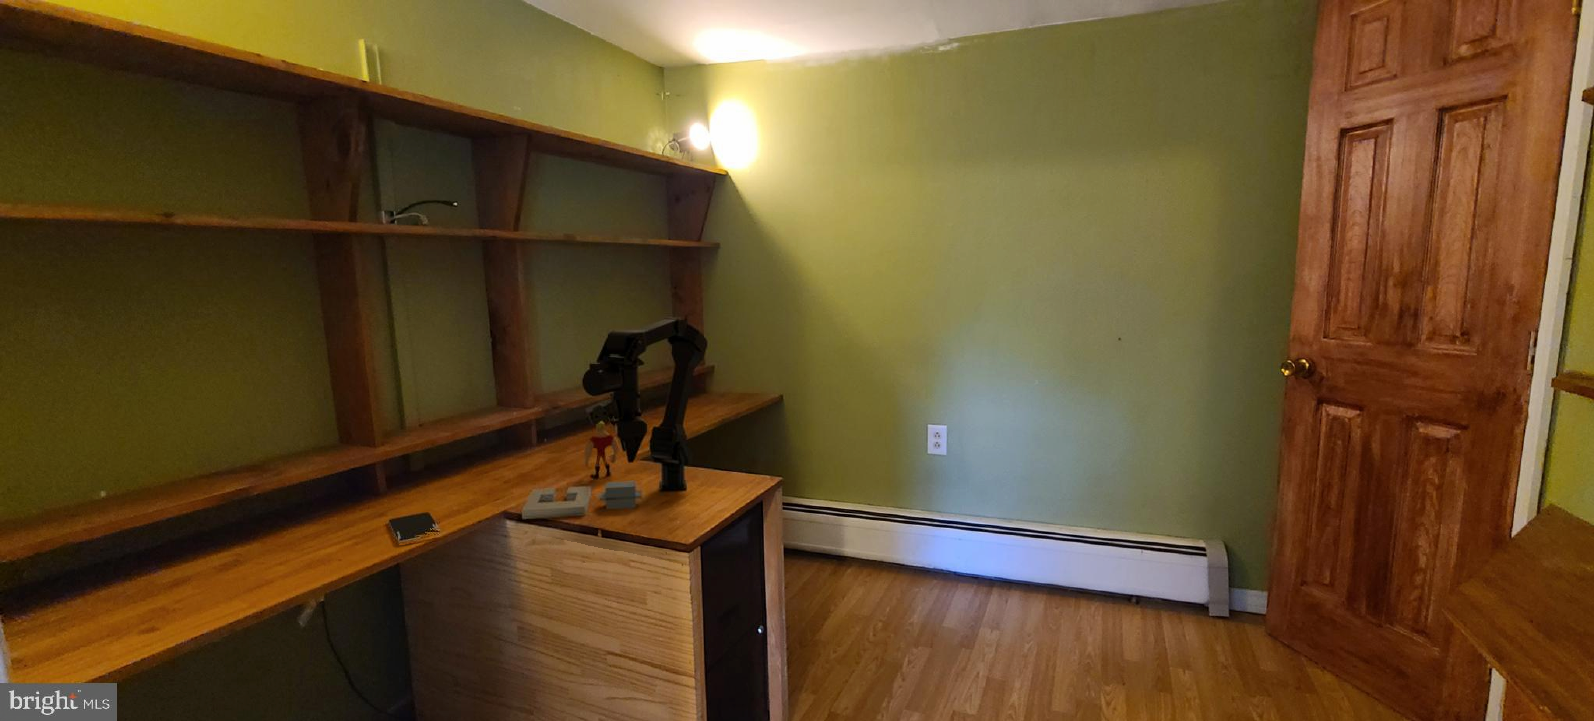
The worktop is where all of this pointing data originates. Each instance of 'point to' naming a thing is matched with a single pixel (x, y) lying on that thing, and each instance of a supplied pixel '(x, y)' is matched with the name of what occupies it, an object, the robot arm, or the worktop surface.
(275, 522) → the worktop surface
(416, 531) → the smartphone
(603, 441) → the action figure
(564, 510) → the plate
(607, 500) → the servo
